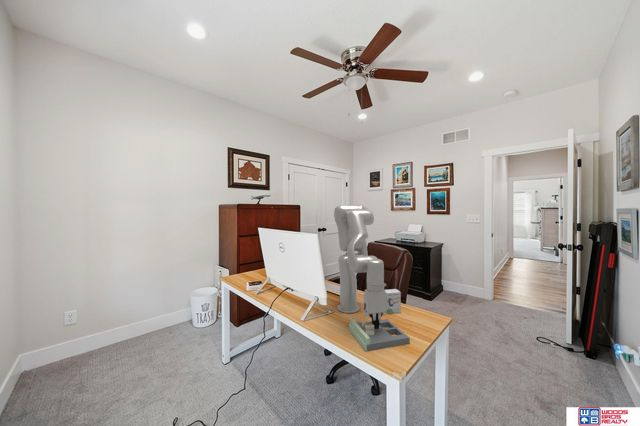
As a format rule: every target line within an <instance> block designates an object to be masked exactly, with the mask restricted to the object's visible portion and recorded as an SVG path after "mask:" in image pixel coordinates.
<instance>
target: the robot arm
mask: <svg viewBox="0 0 640 426" xmlns="http://www.w3.org/2000/svg"><path fill="white" fill-rule="evenodd" d="M374 216H375V215H374V213H373V212H372V210H371V209H369V208H367V207H366V206H364V205H361V204H341V205H337V206H336V207H335V208H334V210H333V217H334V218H333V219H334V221H335V224H336V228H337V235H338V245H339V248H340V251H342V252H346V253H344V254H341V255H340V256H339V257H338V260H337V261H338V262H337V264H338V269H339V293H340V294H339V301H340V303H339V304H338V305H337V310H338V311H339V312H341V313H345V314H353V313H355V314H356V313H357V312H359V310H360V308H361V307H360V306H359V305H358V304H357V303H358V301H357V300H358V297H357V296H358V295H357V294H358V293H357V292H358V290H357V289H358V285H357V282H358V281H357V280H358V279H357V276H356V275H355V274H354V273H357V274H361V273H366V289H364V293H363V302H362V309H363V311H364V312H363V316H365V317H370V319H371V321H372V324H373V325H374V328H375V329H379V320H382V317H383V316H384V315H386V314H387V297H386V292H385V290H386V289H385V287H387V283H385V267H384V266H385V265H384V263H385V262H384V261H383V260H382V259H379V258H378V257H377V256H375V255H369V253H368V245H367V239H368V237H369V233H368V229H367V226H371V225H372V224H373V223H374V222H375V217H374ZM356 252H357V253H356Z"/></svg>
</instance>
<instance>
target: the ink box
mask: <svg viewBox="0 0 640 426" xmlns="http://www.w3.org/2000/svg"><path fill="white" fill-rule="evenodd" d="M384 290H385V292H386V297H387V313H386V314H388V315H389V314H397V313H401V312H402V310H401V309H402V308H401V307H402V306H401V304H402V301H401V296H402V295H401V294H402V292H401V291H400V290H398V289H397V288H391V289H384Z"/></svg>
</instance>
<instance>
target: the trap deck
mask: <svg viewBox="0 0 640 426" xmlns="http://www.w3.org/2000/svg"><path fill="white" fill-rule="evenodd" d="M363 322H364V321H363ZM363 322H357V321H356V320H355V319H354V318H350V319H349V324H348V330H349V332H350V333H351V334H352V335H353V337H354V338H355V340H357V342H358V343H359V344H360V346H361V347H362V349H363V350H364V351H365V352H369V351H375V350H380V349H385V348H391V347H392V348H393V347H397V346H398V347H399V346H403V345H409V344H411V341H410V336H408V334H406V333H405V332H404V331H402V330H401V329H400V328H399V327H398V326H396V324H394V323H393V322H392V321H391V320H389V319H388V318H384V319H380V320H379V329H375V328H374V335H369V336H368V335H367V334H366V333H365V332H364V331H363V329H362V323H363ZM367 322H369V320H368V321H367ZM370 322H371V323H372V320H370Z"/></svg>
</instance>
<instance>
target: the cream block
mask: <svg viewBox="0 0 640 426" xmlns="http://www.w3.org/2000/svg"><path fill="white" fill-rule="evenodd" d="M368 321H369V320H368ZM368 321H363V323H362V329H363V331H364V332H365V333H366V334H367V335H368V336H369V335H374V325H373V324H372V323H371V322H370V321H371V320H370V321H369V322H368Z"/></svg>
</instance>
